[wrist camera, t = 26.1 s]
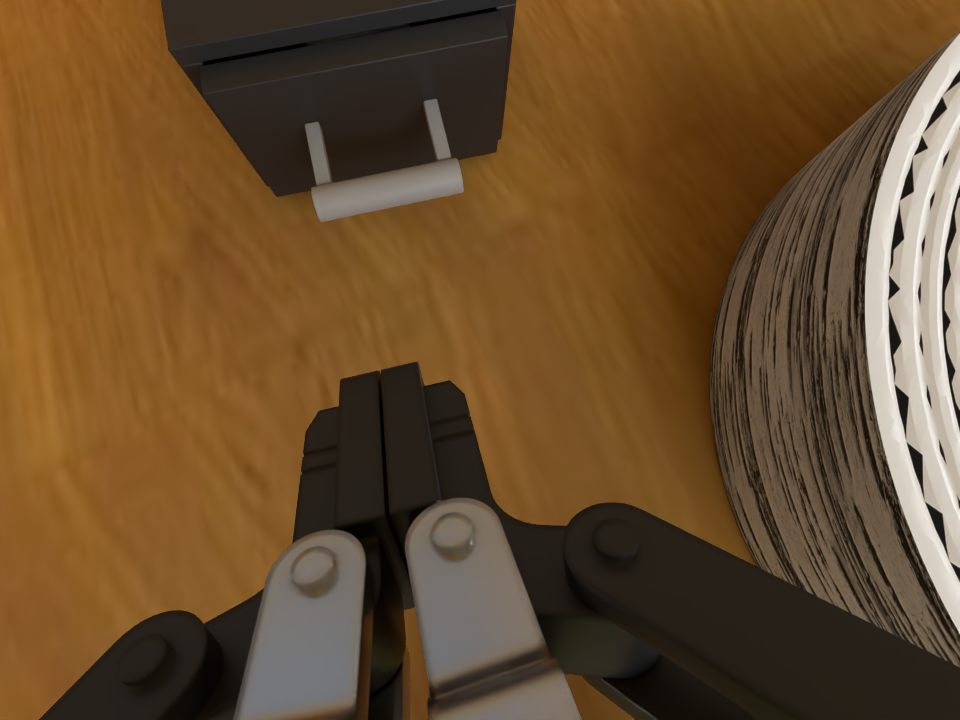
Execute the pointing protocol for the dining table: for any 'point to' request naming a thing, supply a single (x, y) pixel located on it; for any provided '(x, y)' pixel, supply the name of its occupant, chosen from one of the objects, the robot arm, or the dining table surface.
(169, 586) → the dining table surface
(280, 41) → the dark grey cube
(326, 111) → the drawer
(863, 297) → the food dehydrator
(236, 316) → the dining table surface
